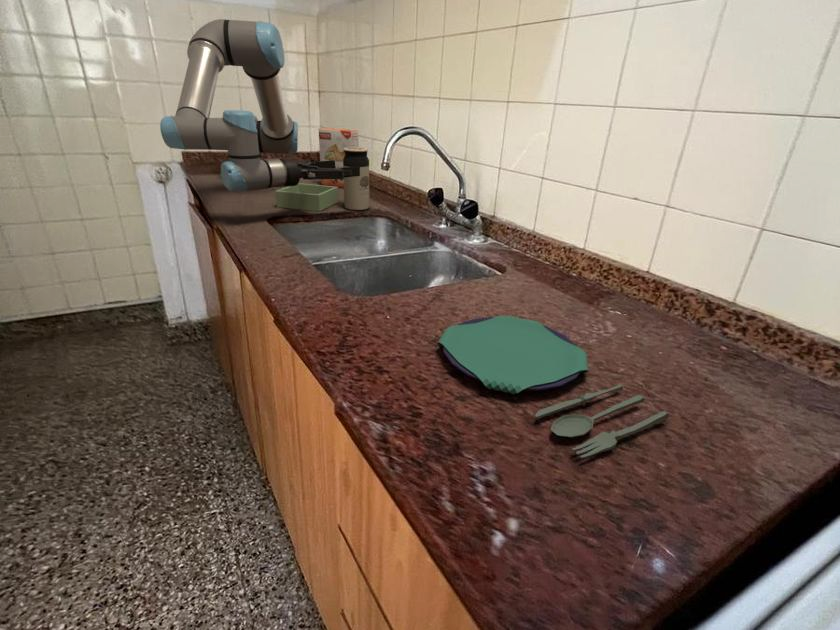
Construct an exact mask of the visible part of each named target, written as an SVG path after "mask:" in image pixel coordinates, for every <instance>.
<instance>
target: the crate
mask: <svg viewBox="0 0 840 630" xmlns="http://www.w3.org/2000/svg"><path fill="white" fill-rule="evenodd" d="M274 191H275V201H276V208H283V209H291V210H292V209H293V210H301V211H302V210H303V211H311V212H321V211H323V210H325V209H327V208H329V207H331V206H333V205H335V204H337V203H339V202H340V201H339V187H333V186H326V185H322V184H311V183H300V182H299V183H298V185H296V186H289V187H282V188H280V189H277V190H274Z"/></svg>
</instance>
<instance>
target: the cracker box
mask: <svg viewBox="0 0 840 630" xmlns="http://www.w3.org/2000/svg"><path fill="white" fill-rule="evenodd" d="M318 147H319V161H331V160H335V169H339V168H342V167H343V159H344V157H345V151H344V148H349V147H357V148H360V147H359V130H357V129H346V128H338V127H336V128H335V127H320V128H318ZM320 182H321V183H320V185H323V186H333V187H338V188H341V189H344V179H342V181H340V179H320Z"/></svg>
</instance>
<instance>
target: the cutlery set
mask: <svg viewBox="0 0 840 630" xmlns="http://www.w3.org/2000/svg"><path fill="white" fill-rule="evenodd" d="M437 344H438V345H439V346H440V347H442V348H443V354H444V356H445V357H446V358H447V360H448V361H449V362H450V364H451V365H452V366H453V367H454V368H456V369H457V370H459V371H460V372H461V373H463V374H464V375H466V376H467V377H469V378H472V379H474V380H477V381H479V382H481V383H483V385H484V386H485V388H487V389H488V390H495V391H499V392H504V393H509V394H512V395H515V394H518V393H520V392H522V391H533V392H535V391H536V392H537V391H539V392H540V391H544V390H551V389H556V388H561V387H563V386H565V385H567V384H569V383H571V382H573V381H574V380H576V379H577V377H578V376H579V375H580V373H581V374H586V373H589V365H588V361H589V359H588V355H587V352H586V351H585V350H583V349H582V348H581V347H579V346H578V345H577V344H576V343H575V342H574V341H572V339H570V338H569V337H568V336H566V335H565V334H563V333H561V332H559V331H557V330H555V329H553V328H551V327H549V326H547V325H543V324H542V323H540V322H539V321H536V320H531V319H529V318H527V319H525V318H523V317H521V318H519V317H517V316H514V317H512V316H511V315H508V316H506V315H497V316H487V317H479V318H472V319H469V320H466V321H462V322H460V323H458V324H455V325H451V326H447V327H446V328H445V329H444V331H443V332H442V334H441V336H440V337H439V339H438V341H437ZM623 388H624V386H623V385H622V384H621V383H618V384H617V385H615V386H612V387H610V388H607V389H603V390H599V391H596V392H586V393H585V394H584V395H581V394H578V398H574V399H569V400H565V401H561V402H558V403H556V404H553V405H550V406H547V407H544V408H542V409H539V410H538V411H537V412H536V413H535V416H534V419H535V420H538V419H541V418H544V417H547V416H550V415H553V414H555V413H557V412H558V413H559V412H560V411H564V410H566V409H569V408H572V407H575V406H578V405H582V406H583V407H585V405H586V403H587V402H591V403H592V402H593V401H594V400H595V399H596V398H598V397H599V396H604V395H606V394H608V393H610V392H614V391H617V390H618V391H619V390H620V391H623ZM645 400H646V397H644V396H642V395H641V394H638V395H635V396H633V397H630V398H628V399H626V400H623V401H621V402H619V403H616V404H614V405H612V406H610V407H609V408H607V409H605V410H603V411H600V412H598V413H596V414H595V415H593V416H588V415H585V414H577V413H572V414H567V415H562V416H560V417H559V418H557V419H556V420H554V421H553V422H552V424H551V427H550V431H552V432H553V433H554V434H555V435H556V436H559V437H565V438H566V437H567V438H577V437H582V436H585V435H587V434H588V433H589V432H590V431H591V430H592V429H593V428H594V422H595V421H597V420H599V419H602V418H604V417H606V416H609V415H611V414H613V413H616V412H619V411H621V410H624V409H627V408H629V407H632V406H635V405H639V404H642V403H644V402H645ZM669 416H670V413H669V412H667V411H666V410H663V411H660V412H658V413H656V414H654V415H651V416H649V417H648V418H646V419H644V420H641V421H640V422H638V423H636V424H633V425H631V426H628V427H626V428H625V427H624V428H622V429H620V430H617V431H616V430H614V429H612V430H611V431H610V432H607V431H604V430H601V432H600V433H598V434H597V435H595V436H593V437H592V438H590V439H588V440H586V441H585V442H583V443H581V444H579V445H577V446H575V447H573V448H571V451H572V452H575V455H577V456H579V458H580V459H582V460H583V459H586V458H590V457H592V456H595V455H597V454H599V453H603V452H607V451H611V450H613V449H615V448H616V447H617V443H618V442H619V439H621V438H625V437H627V436H631V435H634V434H637V433H639V432H641V431H643V430H645V429H648V428H650V427H652V426H654V425H656V424H659V423H660V422H663V421H666V420H668V419H669ZM576 451H577V452H576Z"/></svg>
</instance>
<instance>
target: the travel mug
mask: <svg viewBox="0 0 840 630" xmlns="http://www.w3.org/2000/svg"><path fill="white" fill-rule="evenodd" d="M344 151H345V157H344V159H343V167H355V166H359V167H360V176H356V177H345V178H344V188H343V201H344V204H343V205H344V208H345V209H346V210H349V211H365V210H367V209H369V208H370V159H369V158H368V152H369V149H368V148H366V147H359V148H357V147H349V148H344Z"/></svg>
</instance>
